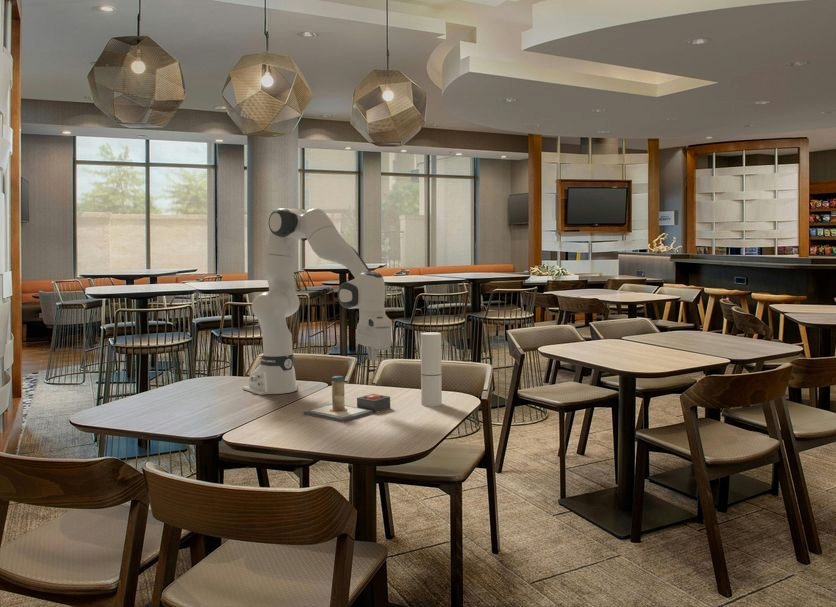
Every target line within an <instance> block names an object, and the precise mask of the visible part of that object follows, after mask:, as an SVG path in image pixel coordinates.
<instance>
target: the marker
mask: <svg viewBox="0 0 836 607" xmlns="http://www.w3.org/2000/svg"><path fill="white" fill-rule="evenodd" d="M331 394H332V395H331V396H332V397H331V400H332V402H331V404H332V408H333V411H343V410H345V376H343V375H334V376H332V377H331Z"/></svg>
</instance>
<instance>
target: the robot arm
mask: <svg viewBox="0 0 836 607" xmlns="http://www.w3.org/2000/svg"><path fill="white" fill-rule="evenodd" d="M268 228H269V231H268V236H267V239H266V244H265V245H266V246H265V255H264V265H263V266H264V268H263V274H264V277H265V278H266V280H267V284H268V291H264V292H262V293H260V294H259V295H257V296H255V297H254V298H253V300H252V303H251V311H252V314H253V315H254V316H255V317H256V319H257V321H258V324H259V327H260V331H261V337H262V355H261V356H259V360H260V364H259V365H258V366H257V367H256V368H255V369H254V370H253V371H252V372H251V373H250V374H249V377H248V384H246V385H244V386H243V387H242V390H244V391H248V392H250V393H253V394H257V395H259V396H260V395H261V396H262V395H280V394H283V395H284V394H288V393H293V392H296V391H298V387H299V384H298V383H297V379H296V378H297V377H296V371H295V370H296V369H295V367H294V362H295V361H294V359H295V357H294V353H293V334H292V332H291V331H290V329H289V327H288V324H287V321H286V318H289V317H291V316H292V315H294V314H295V313H296V312H298V310H299V308H300V298H299V296H298V295H297V291H296V286H295V285H296V284H295V279H294V277H295V276H294V271H295V270H294V269H295V256H296V244H297V242H298V241H299V240H301V241H303V242H305V241H308V243H309V245H310V247H311V249H312V251H313V253H315V255H317V256H318V258H320V259H322V260H324V261H327V262H333V263H337V264H339V265H341V266H343V267H345V268H347V269H348V271H350V273H351V275H352V276H353V277H354V278H353V279H351V280H349V281H345V282H342V283H341V284H340V285H339V287H338V290H337V299H338V303H339V304H340V305H341V306H342V307H343V308H344V309H348V310H351V309H352V310H354V309H358V311H359V313H358V317H359V320H358V322H357V325H356V332H355V333H356V334H355V340H356V344H358V345H362V346H365V347H366V352H367V354H368V360H370V361H373V362H375V361H377V360H378V354H379V351H387V350H390V349H391V345H392V330H391V327H392V326H393V323H392V322H393V321H392V319H391V318H389V317H388V316H387V314H386V307H385V299H386V297H387V290H386V288H385V287H386V286H385V280H384V276H383V275H382V274H381V273H379V272H377V271H371V270H370V268H369V267H368V265H367V264H366V262H365V261H364V259H363V258H362V257H361V255H360V254H359V253H358V252H357V251H356V249H355V248H354V247H352V246H351V245H350V244H349V242H347V241H346V240H345V239H344V238H343V237H342V235H341V234H340V232H339V231H338V229H337V228H336V226H335V224H334V223H333V221H332V219H331V218H330V217H329V216H328V214H327V213H326V212H325V211H324V210H322V209H320V208H317V207H316V208H315V207H314V208H311V209H308V210H306V209H302V208H286V207H284V208H283V207H282V208H281V207H280V208H276V209H274V210H272V212H271V213H270V215H269V218H268Z"/></svg>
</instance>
